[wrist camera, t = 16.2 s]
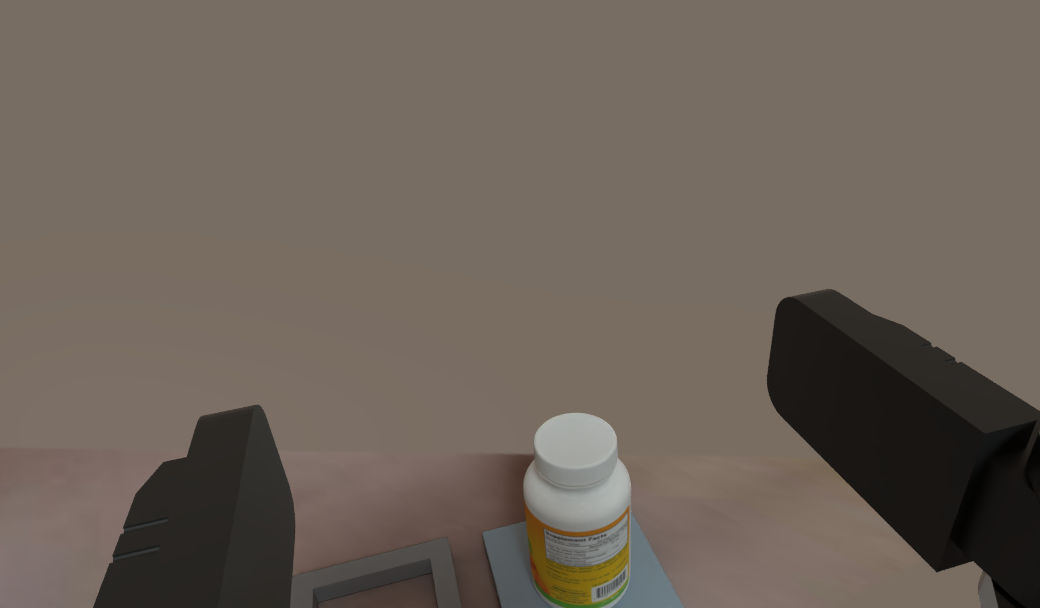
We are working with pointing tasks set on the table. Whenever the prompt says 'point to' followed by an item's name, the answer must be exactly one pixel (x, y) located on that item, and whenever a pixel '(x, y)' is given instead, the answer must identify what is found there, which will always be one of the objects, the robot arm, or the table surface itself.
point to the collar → (380, 575)
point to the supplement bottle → (578, 513)
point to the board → (644, 603)
